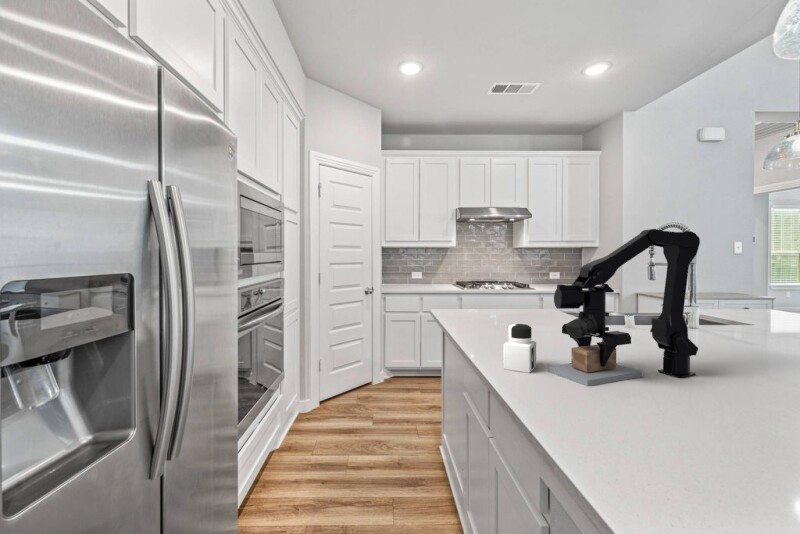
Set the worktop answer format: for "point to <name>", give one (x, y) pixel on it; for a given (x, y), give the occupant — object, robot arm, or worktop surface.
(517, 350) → the container
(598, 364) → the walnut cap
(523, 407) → the worktop surface
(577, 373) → the pin board
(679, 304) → the robot arm
